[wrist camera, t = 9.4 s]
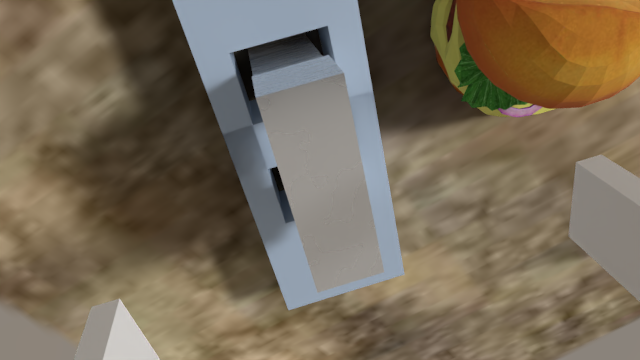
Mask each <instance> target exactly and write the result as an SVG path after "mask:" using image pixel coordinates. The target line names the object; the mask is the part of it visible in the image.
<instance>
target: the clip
mask: <svg viewBox="0 0 640 360" xmlns="http://www.w3.org/2000/svg"><path fill="white" fill-rule="evenodd" d="M248 53H249V58H250V63H251V68H252V73H253V76H252V81H253V86H254V92H255V97H256V100H257V104H258V107H259V110H260V113H261V116H262V119H263V122H264V126H265V129H266V132H267V135H268V138H269V141H270V145H271V148H272V151H273V154H274V157H275V160H276V163H277V167H278V170H279V173H280V176H281V179H282V182H283V185H284V189H285V192H286V195H287V198H288V201H289V204H290V207H291V211H292V214H293V217H294V220H295V223H296V226H297V230H298V233H299V236H300V239H301V242H302V245H303V248H304V252H305V255H306V258H307V261H308V264H309V267H310V270H311V274H312V277H313V280H314V283H315V286H316V289H317V293H318V292H322V291H325V290H328V289H331V288H335V287H338V286H341V285H344V284H348V283H351V282H354V281H357V280H361V279H364V278H367V277H370V276H374V275H377V274H380V273H383V272H384V268H383V263H382V258H381V253H380V248H379V243H378V238H377V234H376V229H375V224H374V219H373V214H372V209H371V204H370V199H369V194H368V189H367V184H366V179H365V174H364V169H363V164H362V159H361V154H360V150H359V145H358V140H357V135H356V130H355V125H354V120H353V115H352V110H351V105H350V100H349V95H348V90H347V85H346V80H345V75H344V72H343V71H342V70H341V69H340V67H339V66H338V65H337V64H336V63H335V62H334V60H333V59H332V58H331V57H330V56H329V55H326V56H322V55H321V54H320V52H319V51H318V50H317V49H316V47H315V46H314V45H313V44H312V42H311V41H310V40H309V38H308V37H307V36H306V35H305V33H304V32H303V33H300V34H296V35H293V36H289V37H285V38H282V39H278V40H275V41H271V42H267V43H264V44H260V45H257V46H253V47H249V48H248Z"/></svg>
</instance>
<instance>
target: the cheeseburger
mask: <svg viewBox="0 0 640 360" xmlns="http://www.w3.org/2000/svg"><path fill="white" fill-rule="evenodd" d="M430 37H431V39H432V41H433V42H434V44H435V51H436V58H437V62H438V63H439V65H440V66H441V68H442V69H443V71H444V73H445V74H446V76H447V77H448V79H449V80H450V82H451V84H452V85H453V87H454V88H455V89H456V91H458V92H459V93H461V94H462V95H464V96H463V98H462V100H461V101H465V102H468V103H469V105H470V106H471V107H472V108H476V107H477V108H478V109H479V110H481V111H482V112H484V113H485V114H487V115H494V116H500V117H507V116H514V117H522V116H527V115H536V114H540V113H543V112H547V111H550V110H554V109H557V108H574V107H583V106H586V105H589V104H592V103H595V102H598V101H601V100H604V99H607V98H610V97H612V96H614V95H615V94H617V93H619V92H620V91H622V90H623V89H625V88H626V87H628V86H629V85H630V84H632V83H633V82H634V81H635V80H636V79H637V78H638V77H639V76H640V0H436V1H435V3H434V5H433V11H432V17H431V32H430Z"/></svg>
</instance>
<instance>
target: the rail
mask: <svg viewBox="0 0 640 360" xmlns="http://www.w3.org/2000/svg"><path fill="white" fill-rule="evenodd" d="M172 1H173V4H174V6H175V9H176V12H177V14H178V17H179V20H180V22H181V25H182V28H183V30H184V33H185V36H186V38H187V41H188V44H189V46H190V49H191V52H192V54H193V57H194V60H195V62H196V65H197V68H198V70H199V73H200V75H201V78H202V81H203V83H204V86H205V89H206V91H207V94H208V97H209V99H210V102H211V105H212V107H213V110H214V113H215V115H216V118H217V121H218V123H219V126H220V129H221V131H222V134H223V137H224V139H225V142H226V145H227V147H228V150H229V153H230V155H231V158H232V161H233V163H234V166H235V169H236V171H237V174H238V177H239V179H240V182H241V185H242V187H243V190H244V193H245V195H246V198H247V201H248V203H249V206H250V209H251V211H252V214H253V217H254V219H255V222H256V225H257V227H258V230H259V233H260V235H261V238H262V241H263V243H264V246H265V249H266V251H267V254H268V257H269V259H270V262H271V265H272V267H273V270H274V273H275V275H276V278H277V281H278V283H279V286H280V289H281V291H282V294H283V297H284V299H285V302H286V305H287V307H288V310H291V309H294V308H297V307H301V306H304V305H307V304H310V303H313V302H317V301H320V300H323V299H326V298H330V297H333V296H336V295H339V294H343V293H346V292H349V291H352V290H355V289H359V288H362V287H365V286H368V285H372V284H375V283H378V282H381V281H385V280H388V279H391V278H394V277H397V276H401V275H404V269H403V263H402V257H401V252H400V246H399V240H398V234H397V228H396V223H395V217H394V211H393V205H392V199H391V193H390V188H389V182H388V176H387V170H386V164H385V158H384V153H383V147H382V141H381V135H380V129H379V123H378V118H377V112H376V106H375V100H374V94H373V88H372V83H371V77H370V71H369V65H368V59H367V54H366V48H365V42H364V36H363V30H362V24H361V19H360V13H359V7H358V1H357V0H172ZM314 29H318V33H319V38H320V42H321V47H322V51H323V56H326V55H329V56H330V57H331V58H332V59H333V60H334V62H335V63H336V64H337V65H338V66H339V67H340V69H341V70H342V71H343V72H344V75H345V80H346V85H347V90H348V95H349V100H350V105H351V110H352V115H353V120H354V125H355V130H356V135H357V140H358V145H359V150H360V154H361V159H362V164H363V169H364V174H365V179H366V184H367V189H368V194H369V199H370V204H371V209H372V214H373V219H374V224H375V229H376V234H377V238H378V243H379V248H380V253H381V258H382V263H383V268H384V272H383V273H380V274H377V275H374V276H370V277H367V278H364V279H361V280H357V281H354V282H351V283H348V284H344V285H341V286H338V287H335V288H331V289H328V290H325V291H322V292H318V293H317V289H316V286H315V283H314V280H313V277H312V274H311V270H310V267H309V264H308V261H307V258H306V255H305V252H304V248H303V245H302V242H301V239H300V236H299V233H298V230H297V226H296V223H295V220H294V217H293V214H292V211H291V207H290V204H289V201H288V198H287V195H286V192H285V190H282V191H279V190H278V187H277V184H276V181H275V178H274V175H273V172H272V169H271V168H274V167H277V163H276V160H275V157H274V154H273V151H272V148H271V145H270V141H269V138H268V135H267V132H266V129H265V126H264V122H263V119H262V116H261V113H260V110H259V107H258V104H257V100H256V99H255V100H251V101H249V99H248V96H247V92H246V89H245V86H244V83H243V80H242V77H241V74H240V71H239V68H238V65H237V62H236V59H235V56H234V53H233V52H235V51H239V50H242V49H246V48H249V47H253V46H257V45H260V44H264V43H267V42H271V41H275V40H278V39H282V38H285V37H289V36H293V35H296V34H300V33H303V32H307V31H310V30H314Z"/></svg>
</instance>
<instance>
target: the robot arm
mask: <svg viewBox="0 0 640 360" xmlns="http://www.w3.org/2000/svg"><path fill="white" fill-rule="evenodd" d="M569 237H570V238H571V239H572V240H573V241H574V242H575V243H576V244H578V245H579V246H580V247H581V248H582V249H583V250H584V251H585V252H586V253H587V254H588V255H590V256H591V257H592V258H593V259H594V260H595V261H596V262H597V263H598V264H599V265H600V266H601V267H603V268H604V269H605V270H606V271H607V272H608V273H609V274H610V275H611V276H612V277H613V278H615V279H616V280H617V281H618V282H619V283H620V284H621V285H622V286H623V287H624V288H625V289H627V290H628V291H629V292H630V293H631V294H632V295H633V296H634V297H635V298H636V299H637V300H638V301H640V178H638V177H637V176H635V175H633V174H632V173H630V172H629V171H627V170H625V169H624V168H622V167H621V166H619V165H617V164H616V163H614V162H612V161H611V160H609V159H608V158H606V157H604V156H603V155H598V156H595V157H592V158H588V159H585V160H582V161H578V162H576V168H575V178H574V187H573V197H572V207H571V217H570V227H569ZM74 360H160V359H159V357H158V356H157V354H156V353H155V351H154V350H153V348H152V347H151V345H150V344H149V342H148V341H147V339H146V338H145V336H144V335H143V333H142V332H141V330H140V329H139V327H138V326H137V324H136V323H135V321H134V320H133V318H132V317H131V315H130V314H129V312H128V311H127V309H126V308H125V306H124V305H123V303H122V302H121V300H120V299H117V300H113V301H110V302H107V303H103V304H100V305H96V306H93V307H91V310H90V313H89V316H88V319H87V322H86V325H85V328H84V331H83V334H82V337H81V340H80V343H79V346H78V348H77V351H76V355H75V357H74Z"/></svg>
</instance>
